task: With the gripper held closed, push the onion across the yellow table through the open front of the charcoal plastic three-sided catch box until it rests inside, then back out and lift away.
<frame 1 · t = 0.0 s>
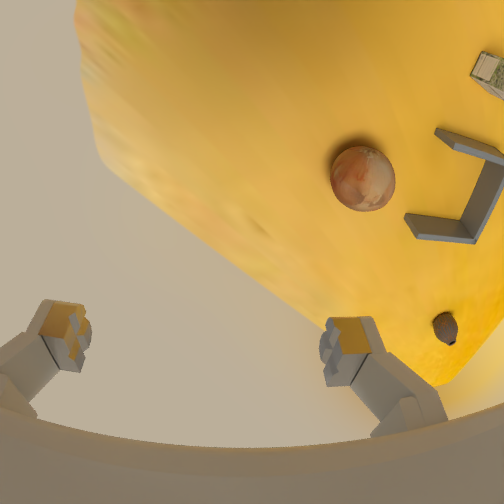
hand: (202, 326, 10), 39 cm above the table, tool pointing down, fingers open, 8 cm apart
catch box: (449, 181, 50), on the table
syrup box: (484, 71, 36), on the table
vase: (440, 317, 78), on the table
onion: (353, 163, 49), on the table
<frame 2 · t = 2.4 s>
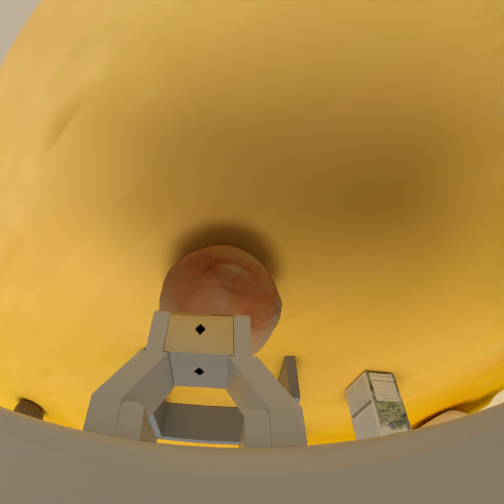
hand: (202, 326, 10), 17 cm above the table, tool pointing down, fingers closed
catch box: (218, 383, 42), on the table
syrup box: (368, 380, 43), on the table
vase: (32, 404, 51), on the table
onion: (222, 267, 30), on the table
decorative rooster: (450, 413, 58), on the table
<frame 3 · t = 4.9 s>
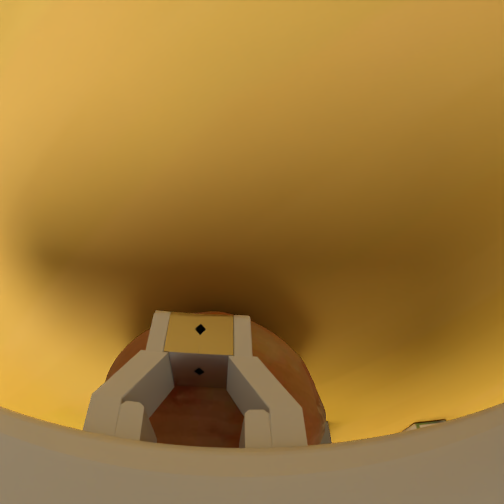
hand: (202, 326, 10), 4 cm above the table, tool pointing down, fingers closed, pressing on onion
onion: (214, 336, 17), on the table, touching gripper
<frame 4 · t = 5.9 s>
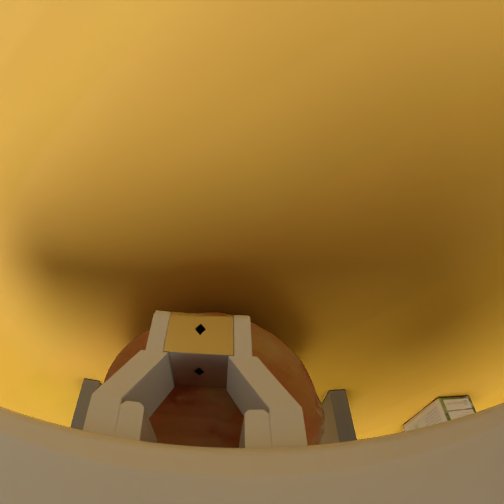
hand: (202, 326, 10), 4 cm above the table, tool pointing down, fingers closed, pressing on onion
catch box: (213, 431, 24), on the table
syrup box: (436, 408, 26), on the table
onion: (213, 337, 17), on the table, touching gripper
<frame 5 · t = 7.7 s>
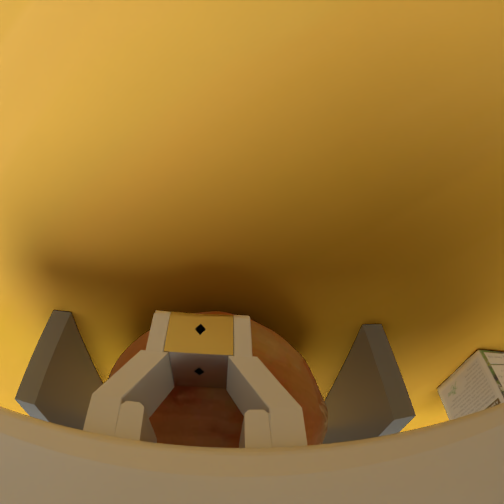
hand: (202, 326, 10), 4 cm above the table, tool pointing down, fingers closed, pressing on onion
catch box: (214, 392, 20), on the table
syrup box: (472, 367, 22), on the table
onion: (216, 336, 17), on the table, touching gripper
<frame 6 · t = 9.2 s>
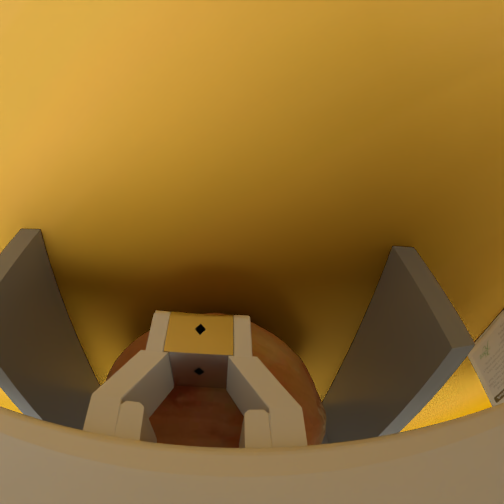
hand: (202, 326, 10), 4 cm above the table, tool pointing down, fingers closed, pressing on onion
catch box: (210, 345, 17), on the table
syrup box: (502, 328, 19), on the table
onion: (214, 337, 17), on the table, touching gripper
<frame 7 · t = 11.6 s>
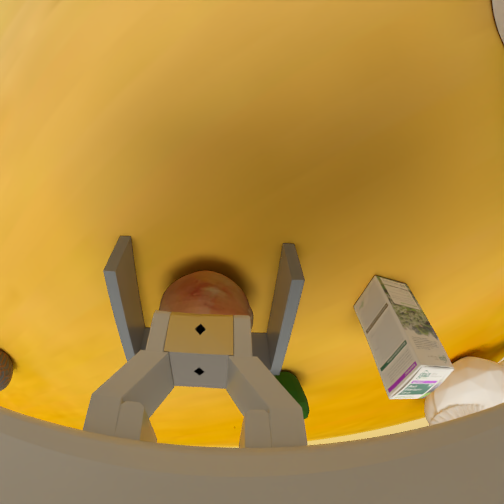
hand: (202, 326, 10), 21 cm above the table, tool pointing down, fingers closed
catch box: (205, 290, 37), on the table
syrup box: (379, 293, 40), on the table
bell pepper: (276, 378, 49), on the table
vase: (2, 354, 45), on the table
onion: (207, 286, 37), on the table
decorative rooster: (466, 364, 54), on the table
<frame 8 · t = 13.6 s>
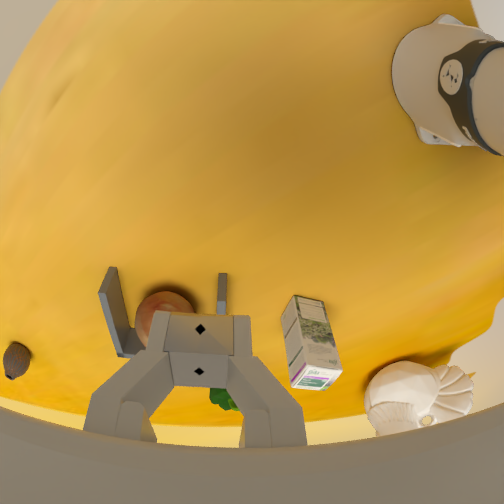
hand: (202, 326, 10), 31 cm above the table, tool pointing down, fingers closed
catch box: (169, 303, 52), on the table
syrup box: (301, 308, 54), on the table
bell pepper: (231, 369, 64), on the table
vase: (22, 348, 60), on the table
onion: (170, 300, 52), on the table
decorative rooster: (405, 367, 69), on the table
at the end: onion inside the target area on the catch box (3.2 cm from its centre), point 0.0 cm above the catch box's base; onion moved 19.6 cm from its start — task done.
